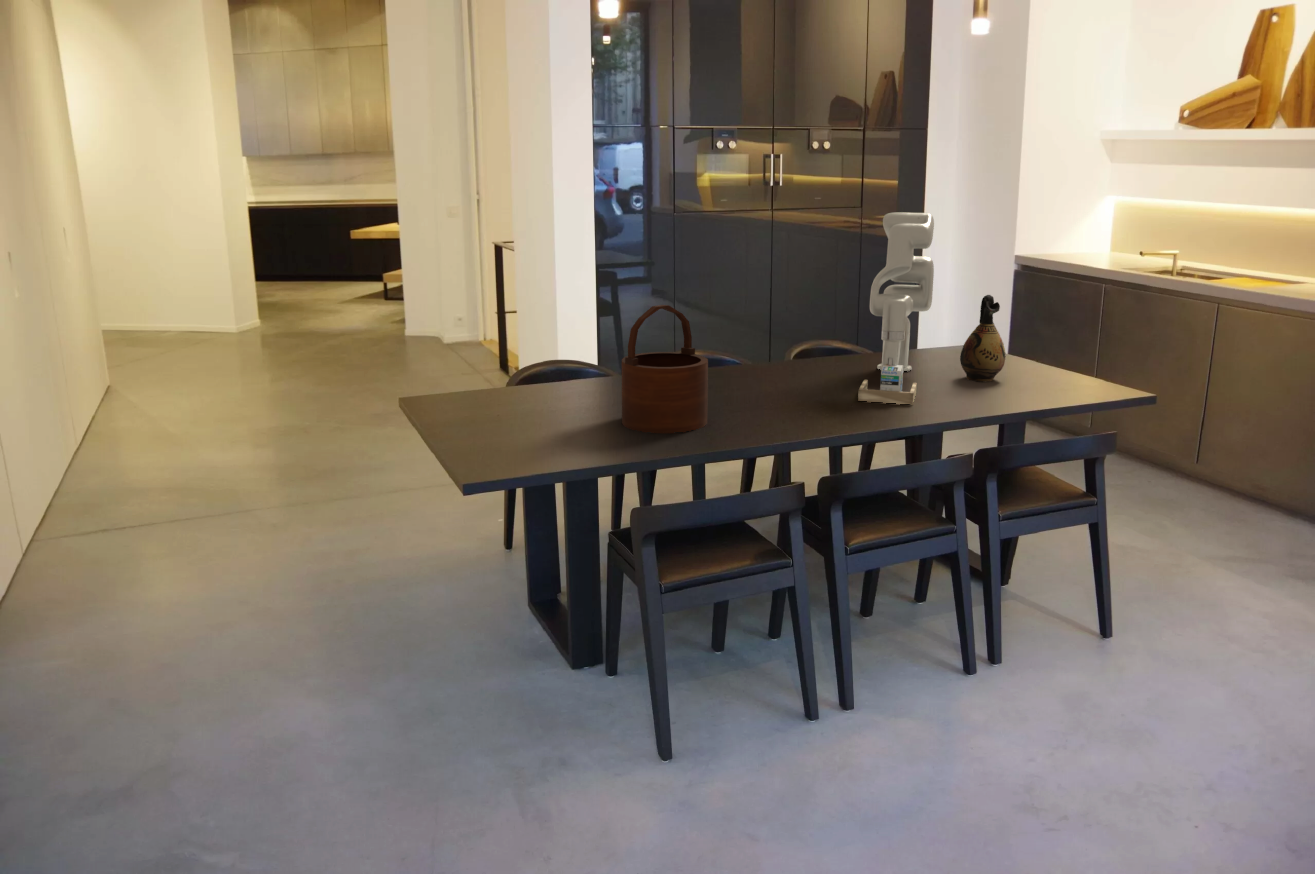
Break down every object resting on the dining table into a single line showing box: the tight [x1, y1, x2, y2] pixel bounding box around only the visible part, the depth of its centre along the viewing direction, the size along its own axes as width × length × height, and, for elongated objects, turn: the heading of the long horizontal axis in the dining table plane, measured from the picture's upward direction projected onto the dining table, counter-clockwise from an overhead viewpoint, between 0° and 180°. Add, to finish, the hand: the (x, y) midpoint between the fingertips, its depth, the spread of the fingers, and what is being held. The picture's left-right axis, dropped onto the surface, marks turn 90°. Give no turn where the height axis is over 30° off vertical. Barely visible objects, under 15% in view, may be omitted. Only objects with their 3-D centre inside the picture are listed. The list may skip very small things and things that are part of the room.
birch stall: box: [857, 379, 918, 406], centre depth 339 cm, size 16×17×4 cm
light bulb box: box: [879, 364, 904, 392], centre depth 336 cm, size 11×7×11 cm, turn 164°
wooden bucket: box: [621, 304, 709, 434], centre depth 304 cm, size 26×26×35 cm
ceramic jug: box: [959, 294, 1007, 383], centre depth 365 cm, size 17×15×30 cm
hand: (889, 389), depth 346 cm, fingers closed
